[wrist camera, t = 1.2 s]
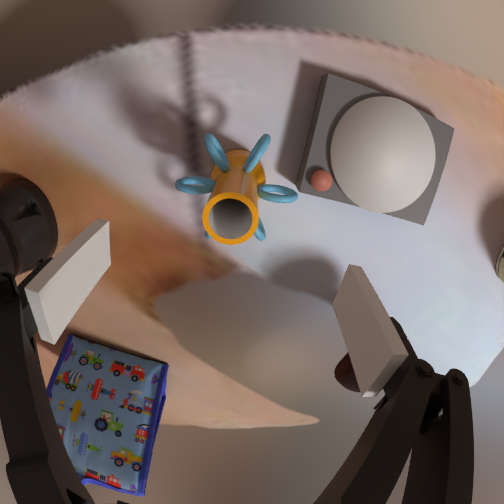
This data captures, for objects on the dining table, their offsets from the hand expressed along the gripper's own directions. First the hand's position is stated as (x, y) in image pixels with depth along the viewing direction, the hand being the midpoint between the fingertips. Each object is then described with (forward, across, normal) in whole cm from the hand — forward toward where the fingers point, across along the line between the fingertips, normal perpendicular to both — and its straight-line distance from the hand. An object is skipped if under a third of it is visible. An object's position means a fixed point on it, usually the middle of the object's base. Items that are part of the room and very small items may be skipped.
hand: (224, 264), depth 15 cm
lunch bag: (+21, -18, -42) cm, 51 cm away
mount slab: (+21, +16, +7) cm, 27 cm away
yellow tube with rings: (+21, 0, 0) cm, 21 cm away
